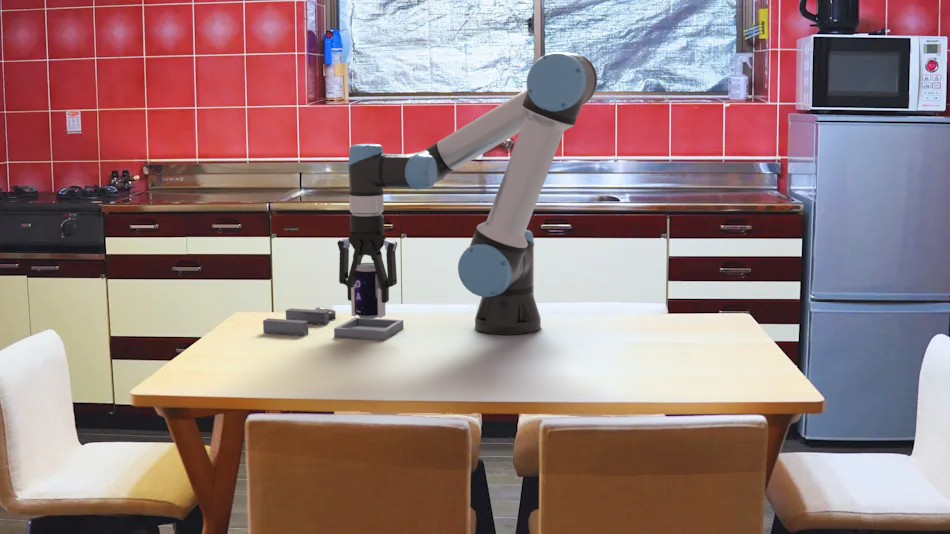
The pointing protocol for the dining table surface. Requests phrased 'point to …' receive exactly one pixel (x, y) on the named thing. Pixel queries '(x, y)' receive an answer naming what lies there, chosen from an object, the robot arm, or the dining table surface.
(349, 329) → the tray
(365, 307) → the beverage can
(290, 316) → the rails
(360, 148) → the robot arm
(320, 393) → the dining table surface
